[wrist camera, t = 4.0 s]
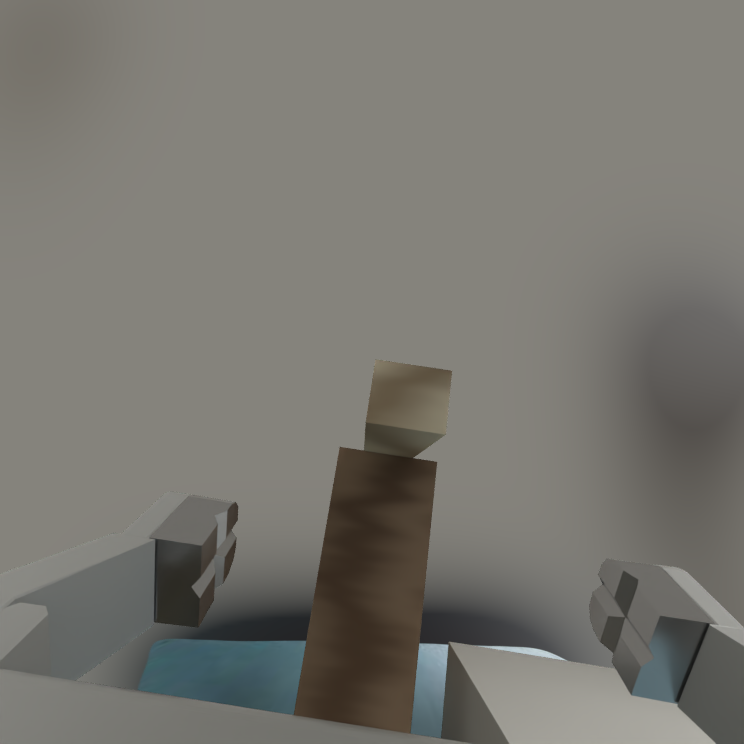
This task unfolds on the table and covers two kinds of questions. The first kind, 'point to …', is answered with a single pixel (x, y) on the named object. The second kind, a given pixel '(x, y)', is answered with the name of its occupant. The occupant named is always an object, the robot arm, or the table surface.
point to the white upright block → (551, 703)
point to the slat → (406, 408)
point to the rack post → (369, 593)
